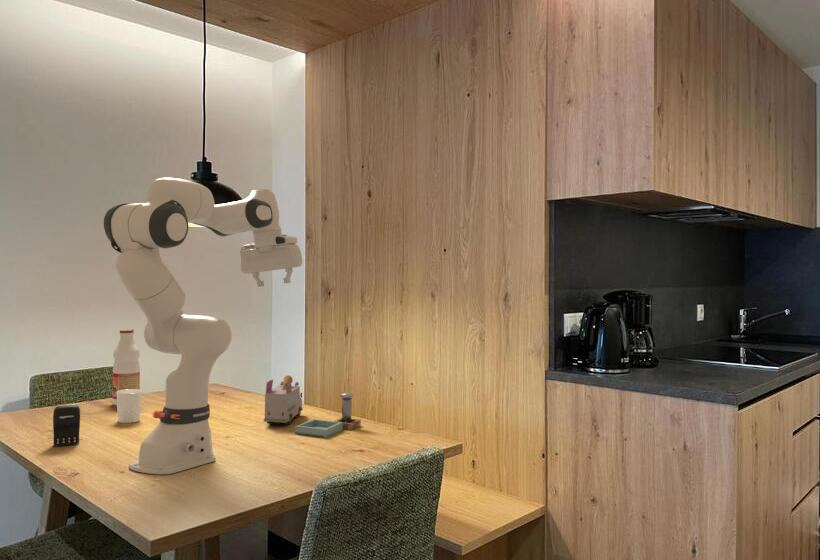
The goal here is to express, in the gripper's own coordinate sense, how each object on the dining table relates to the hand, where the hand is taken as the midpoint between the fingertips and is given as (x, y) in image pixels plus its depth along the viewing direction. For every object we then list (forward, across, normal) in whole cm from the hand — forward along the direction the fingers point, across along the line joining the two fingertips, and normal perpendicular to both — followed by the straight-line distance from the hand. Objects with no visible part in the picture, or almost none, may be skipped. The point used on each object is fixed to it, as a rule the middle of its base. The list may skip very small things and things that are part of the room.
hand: (274, 284), depth 203 cm
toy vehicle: (+47, -10, +13) cm, 50 cm away
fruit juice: (+38, -78, +17) cm, 88 cm away
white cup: (+39, -58, -5) cm, 70 cm away
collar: (+50, +13, +13) cm, 53 cm away
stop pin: (+50, +13, +13) cm, 53 cm away
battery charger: (+38, -54, -36) cm, 75 cm away
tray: (+49, +7, +4) cm, 49 cm away
